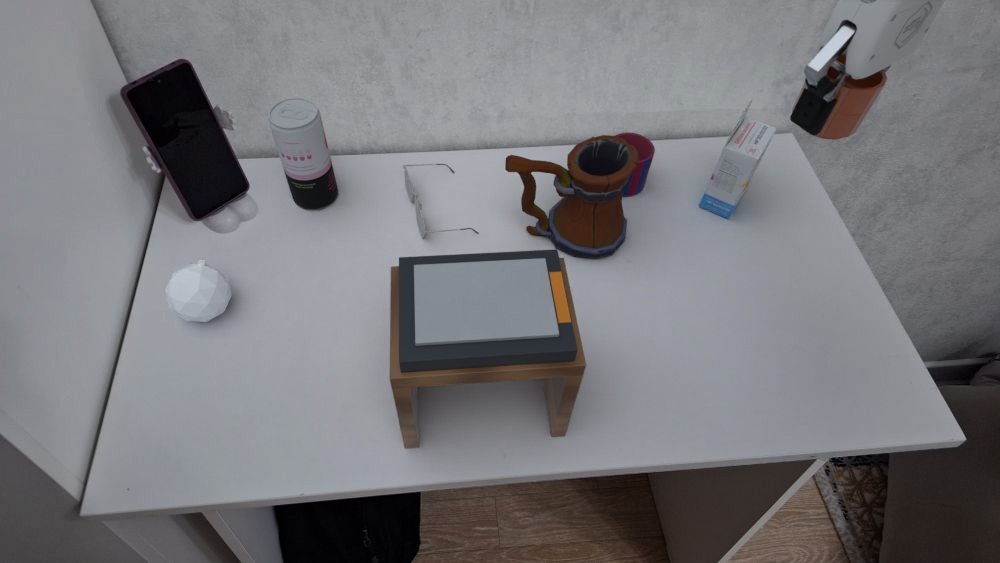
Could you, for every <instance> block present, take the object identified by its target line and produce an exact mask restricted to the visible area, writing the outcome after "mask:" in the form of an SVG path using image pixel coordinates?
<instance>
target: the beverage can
mask: <svg viewBox="0 0 1000 563" xmlns="http://www.w3.org/2000/svg"><path fill="white" fill-rule="evenodd" d="M267 117H268V118H267V122H268V125H269V128H270V132H271V134H272V137H273V138H272V139H273V141H274V144H275V147H276V150H277V154H278V157H279V159H280V162H281V165H282V168H283V171H284V175H285V178H286V181H287V185H288V187H289V191H290V194H291V197H292V200H293V202H294V204H296V206H298V207H299V208H302V209H304V210H308V211H309V210H310V211H316V210H317V211H318V210H321V209H325V208H327V207H329V206H330V205H331V204H333V203H334V202H335V201H336V199H337V198H338V196H339V188H338V182H337V178H336V175H335V171H334V170H335V169H334V167H333V162H332V157H331V153H330V149H329V144H328V140H327V136H326V132H325V128H324V122H323V120H322V115H321V111H320V109H319V108H318V106H317V103H315V102H314V101H313V100H311V99H309V98H306V97H301V96H300V97H299V96H294V97H287V98H283V99H281V100H278V101H277V102H275V103H274V104H273V105H271V107H270V108H269V110H268V113H267Z"/></svg>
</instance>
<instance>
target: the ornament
mask: <svg viewBox="0 0 1000 563" xmlns="http://www.w3.org/2000/svg"><path fill="white" fill-rule="evenodd" d="M164 292H165V297H166V300H167V306H168V309H169V310H171V311H172V312H173V313H175V315H176V316H178V317H180V318H181V319H182V320H184V321H185V322H199V323H200V322H201V323H208V322H209V321H211V320H212V319H214V318H217V317H218V316H220V315H222V314H224V313H225V311H226V309H227V307H228V305H229V302H230V300H231V298H232V296H233V294H232V290H231V286H230V282H229V278H228V277H227V276H226V275H225V274H224V273H223V272H221V271H220V270H219V269H218V268H216V267H215V266H214V265H212V264H207V261H206V260H205V259H199V260H197V263H190V264H187V265H185V266H184V267H182V268H179V269H178V270H176V271H174V272H173V273H172V275H171V277H170V279H169V281H168V283H167V285H166V287H165V289H164Z"/></svg>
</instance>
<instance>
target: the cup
mask: <svg viewBox="0 0 1000 563" xmlns="http://www.w3.org/2000/svg"><path fill="white" fill-rule="evenodd" d="M614 136H618V137H620V138H622V139H624V140H627V142H628V143H629V144H630V145H633V146H635V148H636V149H637V151H638V152H639V154H640V155H639V164H638V165H637V168H636V169H635V170H634V172H633V173H632V174H631V176H630V177H629V185H628V186H627V187H626V188H625V190H624V191H623V196H622V197H633V196H635V195H638V194H640V193H641V192H642V191H643V190H644V188H645V185H646V182H647V179H648V175H649V172H650V169H651V165H652V162H653V160H654V155H655V152H656V150H655V149H656V148H655V145H654V144H653V142H652V141H651V140H650V139H649V138H647V137H645V136H644V135H642V134H639V133H636V132H621V133H618V134H615V135H614Z"/></svg>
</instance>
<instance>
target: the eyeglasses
mask: <svg viewBox="0 0 1000 563" xmlns="http://www.w3.org/2000/svg"><path fill="white" fill-rule="evenodd" d="M417 166H418V167H420V166H446V167H447V168H448V169H449V170H450V171H451V172H452V173H453V174H455V171H454V170H453V169H452V167H450V166H449V165H448V164H446V163H422V164H421V163H419V164H403V166H402V167H403V169H404V170H403V171H404V183H405V184H404V185H405V190H406V193H407V196H408V199H409V201H410V203H413V200H414V202H415V203H414V204H415V218H416V224H417V227H418V231H419V233H420V236H421V239H423V240H424V239H425V236H426V235H425V234H435V233H443V232H444V233H445V232H453V231H465V230H466V231H467V230H472V231H473V232H474V233H475V234H477V235H478V234H479V232H478V231H477V230H476V229H474V228H472V227H466V228H457V229H443V230H441V229H440V230H426V224H425V220H424V217H423V214H422V209H423V203H422V202H418V197H419V192H414V187H413V184H412V181H411V178H410V175H409V171H408V169H407V167H417Z"/></svg>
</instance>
